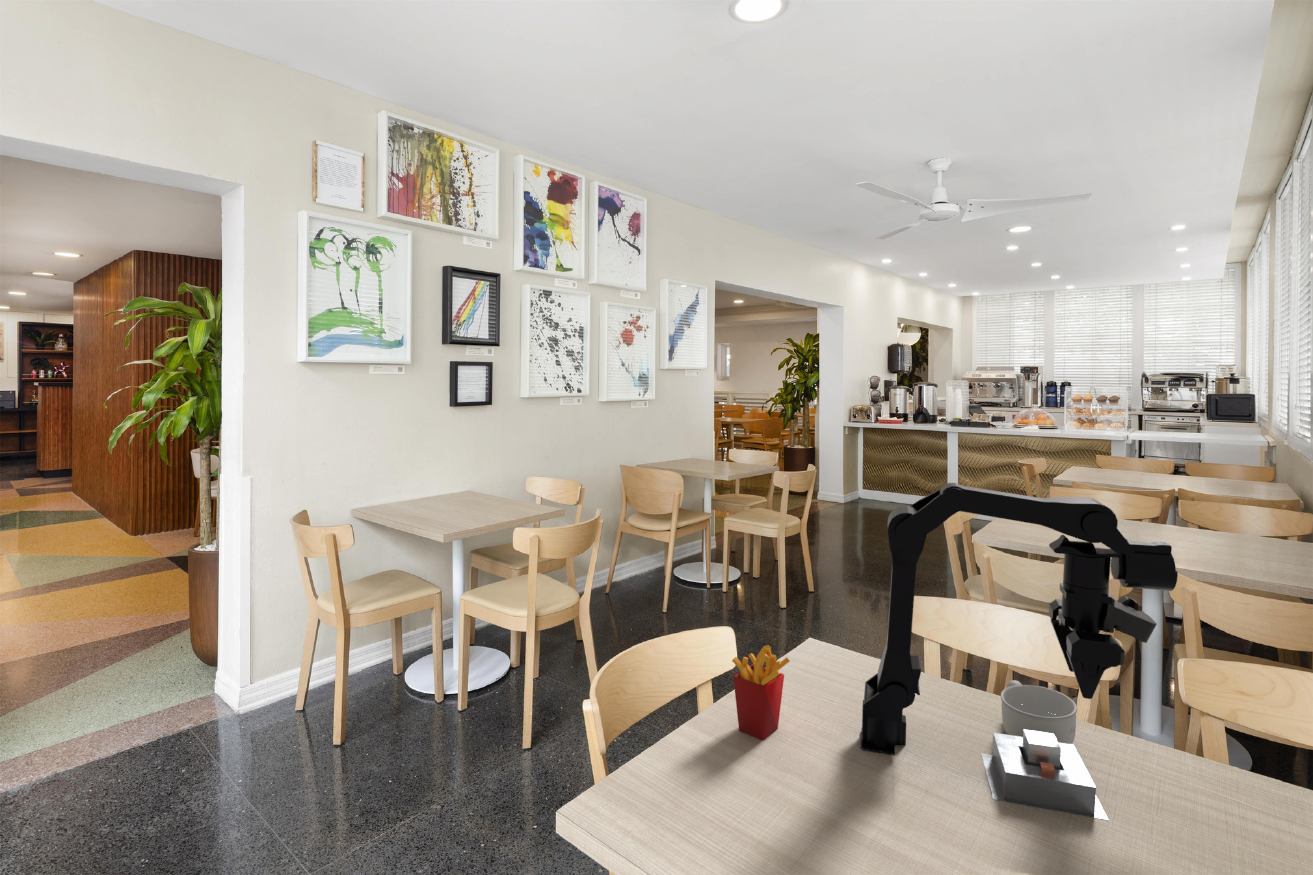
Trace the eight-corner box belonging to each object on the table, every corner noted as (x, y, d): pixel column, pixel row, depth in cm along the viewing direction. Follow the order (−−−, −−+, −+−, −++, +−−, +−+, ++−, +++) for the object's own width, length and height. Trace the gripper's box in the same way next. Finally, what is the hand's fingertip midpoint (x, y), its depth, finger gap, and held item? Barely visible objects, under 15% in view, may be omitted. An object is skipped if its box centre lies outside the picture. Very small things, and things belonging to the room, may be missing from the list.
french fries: (731, 730, 113) (731, 647, 112) (756, 712, 119) (757, 632, 118) (775, 749, 107) (776, 661, 106) (800, 728, 113) (801, 645, 112)
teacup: (1086, 767, 102) (1089, 718, 101) (1011, 759, 104) (1013, 711, 103) (1051, 721, 115) (1053, 677, 114) (985, 715, 117) (987, 672, 117)
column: (1026, 789, 95) (1028, 743, 94) (1020, 772, 99) (1022, 728, 98) (1059, 795, 93) (1061, 748, 93) (1052, 778, 97) (1054, 733, 97)
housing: (993, 805, 93) (994, 765, 92) (980, 759, 104) (982, 723, 103) (1108, 826, 88) (1110, 784, 88) (1082, 775, 99) (1084, 738, 99)
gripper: (1174, 611, 85) (1166, 725, 87) (1132, 571, 102) (1126, 667, 104) (1075, 600, 89) (1069, 709, 91) (1050, 564, 107) (1045, 656, 108)
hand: (1080, 684), depth 98 cm, fingers open, 9 cm apart
